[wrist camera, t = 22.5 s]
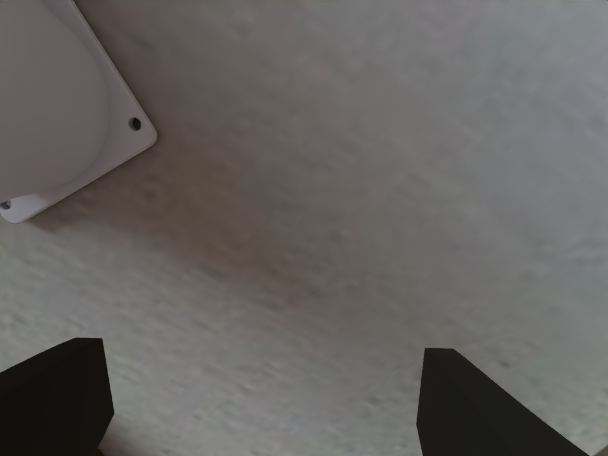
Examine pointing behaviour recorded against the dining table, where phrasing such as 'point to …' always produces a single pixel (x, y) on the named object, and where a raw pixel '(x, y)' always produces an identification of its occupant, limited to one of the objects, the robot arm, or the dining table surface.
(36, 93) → the robot arm
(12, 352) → the dining table surface
